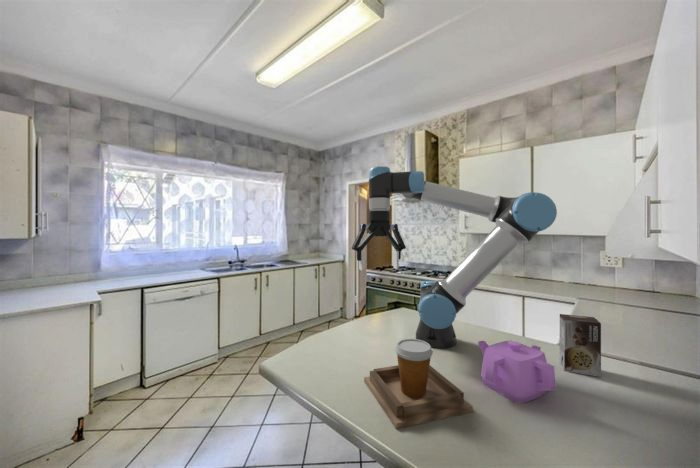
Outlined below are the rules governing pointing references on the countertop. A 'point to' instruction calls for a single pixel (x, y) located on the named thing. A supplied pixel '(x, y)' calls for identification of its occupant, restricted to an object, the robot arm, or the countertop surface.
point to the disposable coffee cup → (413, 366)
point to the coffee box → (580, 344)
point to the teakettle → (516, 370)
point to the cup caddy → (410, 410)
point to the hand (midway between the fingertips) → (379, 269)
